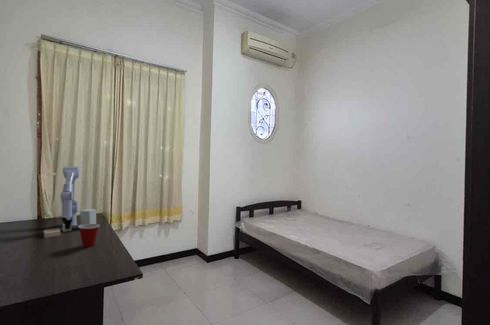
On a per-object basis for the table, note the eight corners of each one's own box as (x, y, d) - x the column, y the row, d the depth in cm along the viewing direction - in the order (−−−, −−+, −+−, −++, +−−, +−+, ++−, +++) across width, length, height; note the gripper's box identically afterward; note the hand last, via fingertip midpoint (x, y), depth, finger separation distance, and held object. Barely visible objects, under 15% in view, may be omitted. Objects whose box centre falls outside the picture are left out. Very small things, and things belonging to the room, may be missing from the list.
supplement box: (96, 225, 188) (96, 209, 188) (89, 228, 181) (89, 211, 181) (87, 225, 189) (87, 208, 189) (80, 228, 182) (79, 210, 182)
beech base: (43, 235, 165) (43, 230, 165) (58, 232, 171) (58, 228, 171) (44, 238, 159) (44, 233, 159) (60, 235, 165) (60, 230, 165)
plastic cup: (102, 245, 148) (102, 225, 147) (80, 250, 140) (80, 228, 140) (96, 241, 155) (96, 221, 155) (76, 245, 147) (76, 225, 147)
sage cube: (62, 230, 176) (62, 223, 176) (70, 229, 180) (70, 222, 179) (63, 231, 173) (63, 225, 173) (71, 230, 176) (71, 224, 176)
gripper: (58, 208, 179) (58, 227, 179) (61, 211, 168) (61, 231, 168) (70, 206, 183) (70, 225, 184) (74, 210, 173) (74, 229, 173)
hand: (66, 228), depth 176 cm, fingers closed on sage cube, 4 cm apart
